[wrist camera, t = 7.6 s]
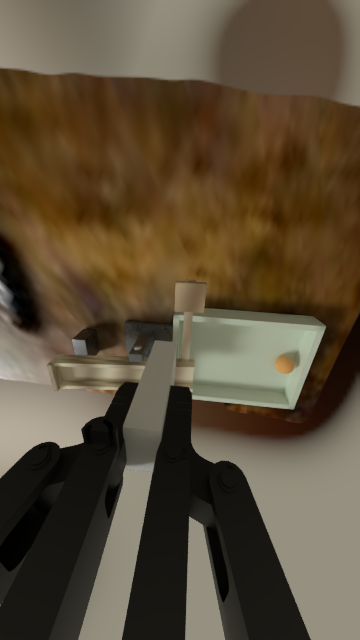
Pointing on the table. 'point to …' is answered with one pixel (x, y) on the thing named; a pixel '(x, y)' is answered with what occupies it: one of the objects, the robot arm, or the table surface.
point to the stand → (127, 339)
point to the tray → (249, 355)
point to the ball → (284, 364)
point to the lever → (119, 369)
